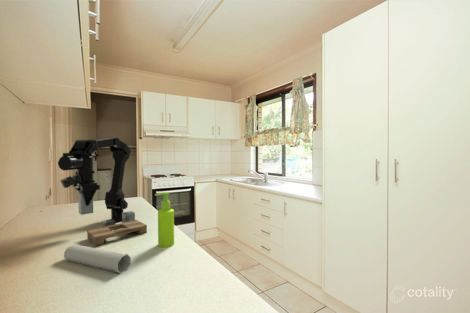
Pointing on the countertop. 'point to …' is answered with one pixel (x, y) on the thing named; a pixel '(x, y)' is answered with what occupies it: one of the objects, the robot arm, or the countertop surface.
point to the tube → (98, 258)
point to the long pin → (84, 205)
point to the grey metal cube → (108, 223)
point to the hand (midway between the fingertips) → (85, 204)
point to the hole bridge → (106, 232)
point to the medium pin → (128, 216)
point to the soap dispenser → (165, 222)
